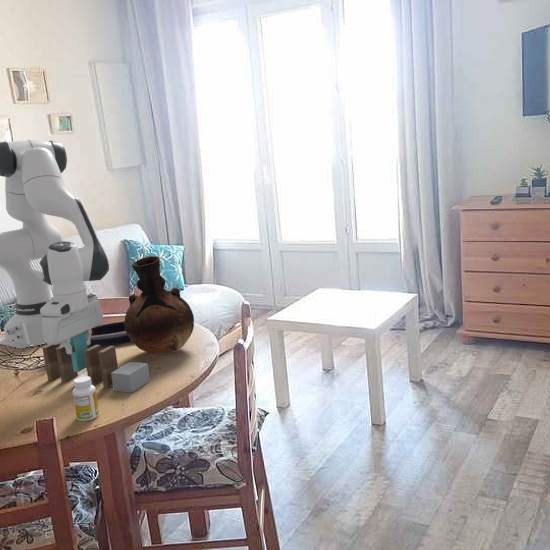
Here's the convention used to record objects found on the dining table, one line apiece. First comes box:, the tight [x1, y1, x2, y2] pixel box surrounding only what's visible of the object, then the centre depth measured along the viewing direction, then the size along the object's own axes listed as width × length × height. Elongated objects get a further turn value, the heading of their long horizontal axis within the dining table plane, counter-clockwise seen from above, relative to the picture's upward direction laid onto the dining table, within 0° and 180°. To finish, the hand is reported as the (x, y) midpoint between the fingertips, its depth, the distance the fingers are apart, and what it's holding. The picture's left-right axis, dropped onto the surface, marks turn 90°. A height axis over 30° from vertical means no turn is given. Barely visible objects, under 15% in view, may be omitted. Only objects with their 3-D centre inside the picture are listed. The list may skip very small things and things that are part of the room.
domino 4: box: [84, 345, 103, 387], centre depth 175 cm, size 2×5×10 cm, turn 155°
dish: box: [87, 320, 132, 348], centre depth 212 cm, size 16×31×5 cm, turn 101°
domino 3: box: [69, 332, 89, 373], centre depth 176 cm, size 2×5×10 cm, turn 156°
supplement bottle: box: [72, 375, 100, 422], centre depth 153 cm, size 5×5×10 cm
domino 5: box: [98, 345, 119, 388], centre depth 173 cm, size 2×5×10 cm, turn 156°
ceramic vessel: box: [123, 255, 195, 355], centre depth 193 cm, size 21×18×30 cm
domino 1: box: [41, 343, 61, 382], centre depth 181 cm, size 2×5×10 cm, turn 155°
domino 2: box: [56, 345, 79, 383], centre depth 179 cm, size 2×5×10 cm, turn 156°
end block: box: [111, 361, 151, 393], centre depth 170 cm, size 6×8×5 cm
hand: (78, 349), depth 176 cm, fingers closed on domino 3, 5 cm apart
